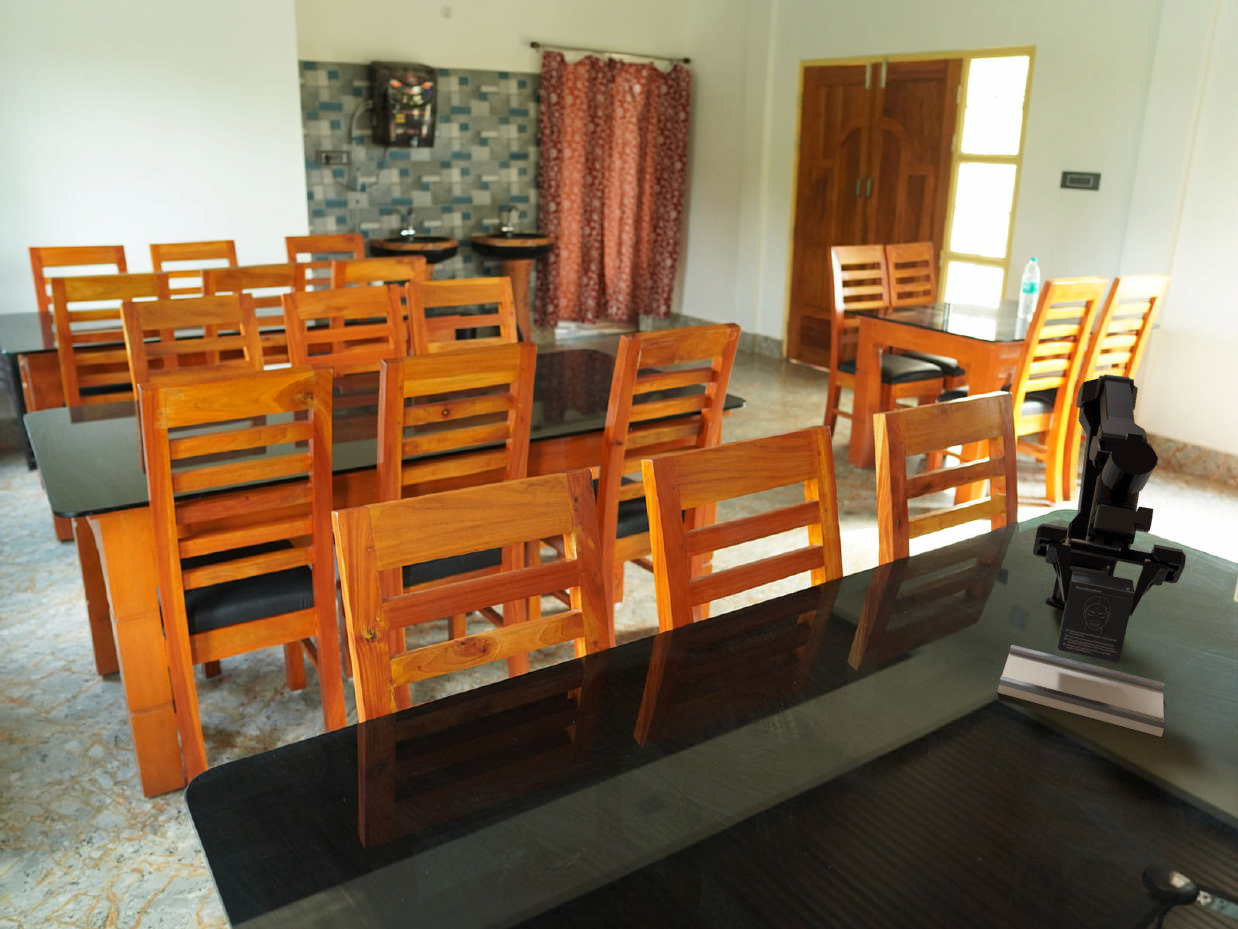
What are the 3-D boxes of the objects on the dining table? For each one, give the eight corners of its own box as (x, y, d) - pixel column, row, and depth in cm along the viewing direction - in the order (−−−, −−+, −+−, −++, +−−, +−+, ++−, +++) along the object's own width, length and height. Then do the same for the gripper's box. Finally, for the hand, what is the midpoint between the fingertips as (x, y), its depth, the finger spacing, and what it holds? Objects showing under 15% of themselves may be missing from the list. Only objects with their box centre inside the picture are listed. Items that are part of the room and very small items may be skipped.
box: (1118, 649, 140) (1134, 579, 137) (1118, 665, 135) (1135, 592, 132) (1057, 635, 143) (1072, 566, 140) (1056, 650, 138) (1071, 579, 135)
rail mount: (997, 692, 136) (1000, 679, 135) (1008, 657, 146) (1011, 644, 146) (1161, 737, 127) (1165, 723, 127) (1161, 695, 138) (1164, 682, 137)
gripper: (1049, 468, 139) (1029, 567, 133) (1200, 494, 132) (1186, 600, 126) (1042, 506, 148) (1023, 600, 142) (1183, 532, 141) (1169, 633, 135)
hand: (1097, 607), depth 136 cm, fingers closed on box, 8 cm apart
